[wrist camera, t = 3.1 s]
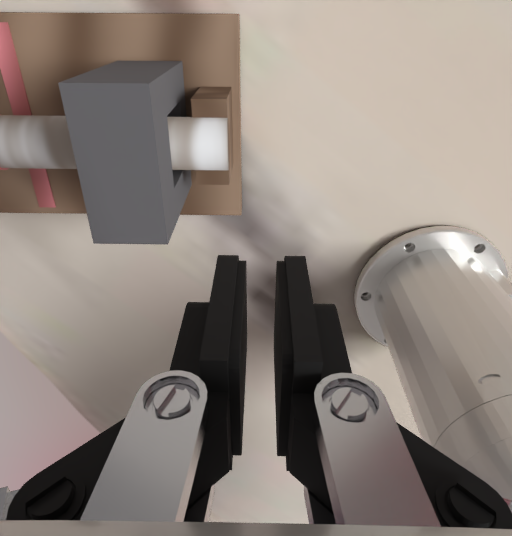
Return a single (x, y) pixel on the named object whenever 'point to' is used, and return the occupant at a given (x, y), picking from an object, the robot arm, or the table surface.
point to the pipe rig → (100, 54)
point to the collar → (127, 148)
